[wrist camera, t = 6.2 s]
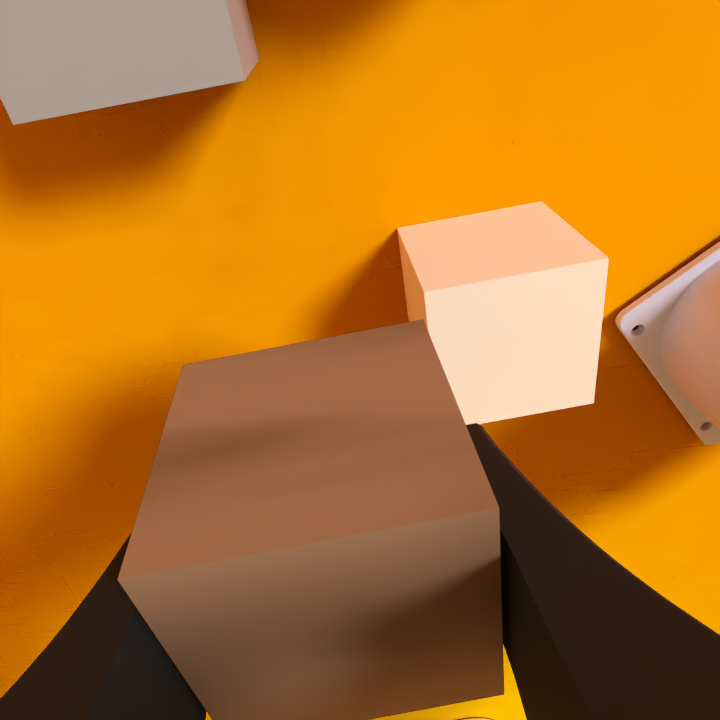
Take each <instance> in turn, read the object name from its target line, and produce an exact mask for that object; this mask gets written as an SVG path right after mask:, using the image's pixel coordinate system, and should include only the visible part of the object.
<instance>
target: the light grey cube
mask: <svg viewBox="0 0 720 720" xmlns="http://www.w3.org/2000/svg"><path fill="white" fill-rule="evenodd" d="M258 60H259V55H258V50H257V46H256V42H255V37H254V33H253V29H252V24H251V20H250V16H249V11H248V7H247V3H246V0H0V99H1V101H2V103H3V105H4V107H5V109H6V111H7V113H8V115H9V117H10V119H11V122H12V124H13V125H16V124H21V123H27V122H32V121H37V120H42V119H48V118H53V117H58V116H63V115H68V114H74V113H79V112H84V111H89V110H94V109H100V108H105V107H110V106H115V105H121V104H126V103H131V102H136V101H141V100H147V99H152V98H157V97H162V96H167V95H173V94H178V93H183V92H188V91H194V90H199V89H204V88H209V87H214V86H220V85H225V84H230V83H235V82H240V81H245V80H246V79H247V77H248V76H249V74H250V73H251V71H252V70H253V68H254V66H255V65H256V63H257V62H258Z"/></svg>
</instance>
